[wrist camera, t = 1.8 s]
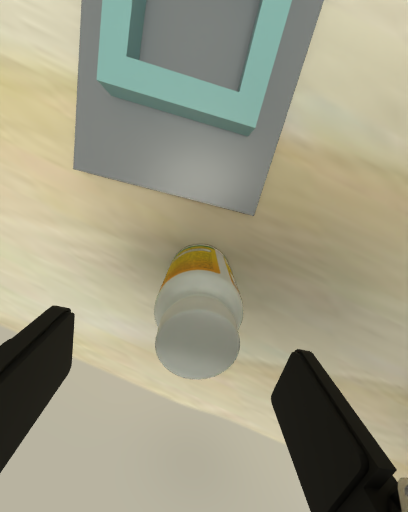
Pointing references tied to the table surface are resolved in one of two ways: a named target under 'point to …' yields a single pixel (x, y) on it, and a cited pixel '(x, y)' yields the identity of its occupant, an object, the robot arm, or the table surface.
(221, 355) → the supplement bottle
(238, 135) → the cup stand
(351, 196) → the table surface
